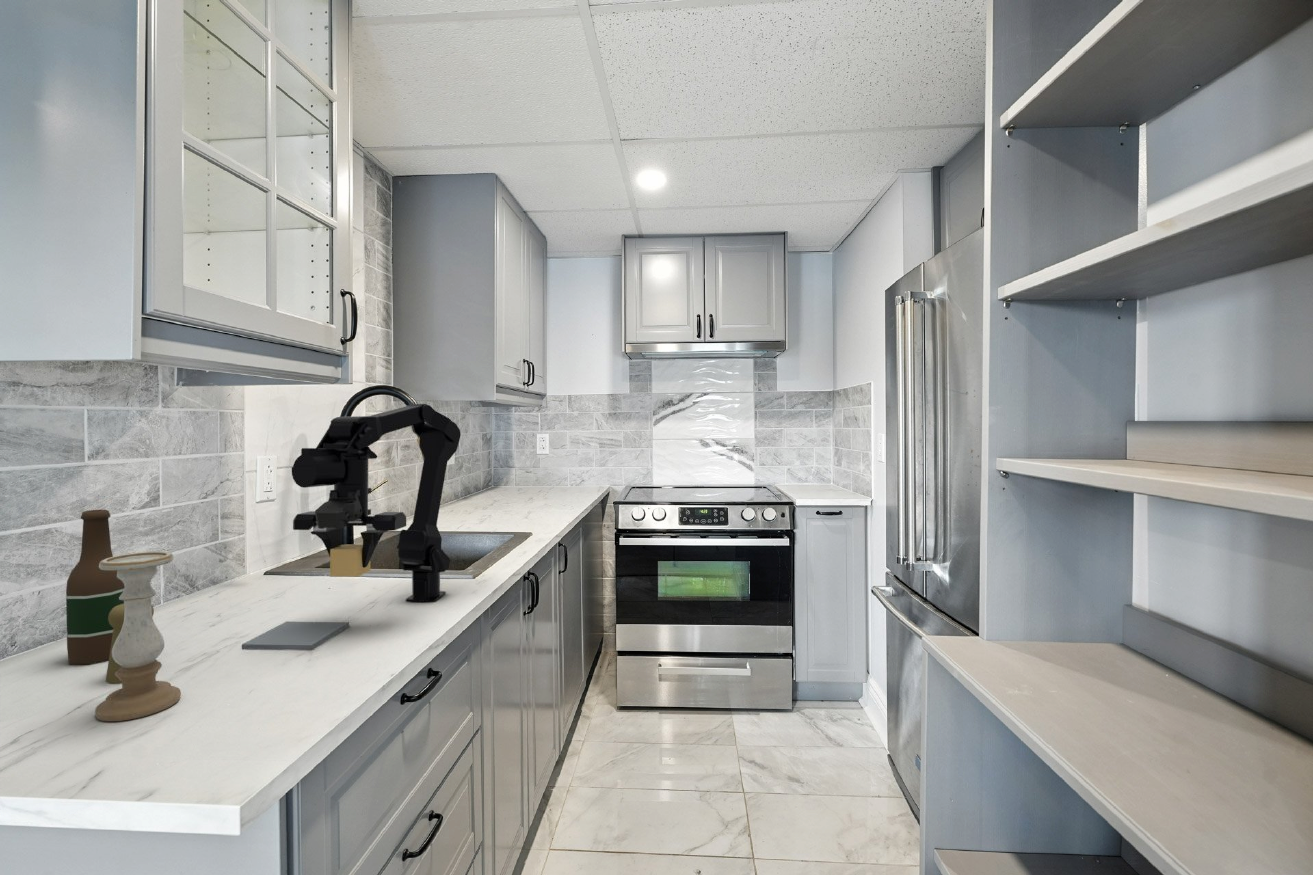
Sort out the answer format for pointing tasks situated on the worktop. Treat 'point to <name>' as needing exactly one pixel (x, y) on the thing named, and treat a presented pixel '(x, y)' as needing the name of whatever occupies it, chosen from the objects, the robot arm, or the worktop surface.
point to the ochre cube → (347, 561)
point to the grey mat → (296, 635)
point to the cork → (116, 622)
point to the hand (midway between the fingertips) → (350, 566)
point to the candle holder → (137, 642)
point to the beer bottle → (92, 594)
